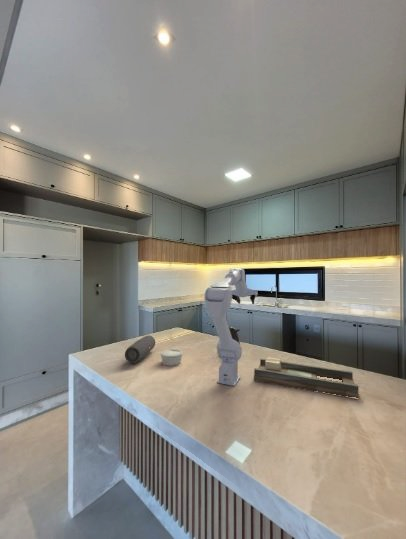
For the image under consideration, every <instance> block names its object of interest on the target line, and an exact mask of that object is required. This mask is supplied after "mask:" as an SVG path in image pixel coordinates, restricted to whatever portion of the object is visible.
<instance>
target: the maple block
mask: <svg viewBox="0 0 406 539" xmlns="http://www.w3.org/2000/svg"><path fill="white" fill-rule="evenodd" d="M265 359H266V361H265V370H270V371H276V372H280V371H281V361H282V360H281V358H275V357H268V356H267V358H265Z"/></svg>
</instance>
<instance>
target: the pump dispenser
mask: <svg viewBox="0 0 406 539" xmlns="http://www.w3.org/2000/svg"><path fill="white" fill-rule="evenodd" d="M228 327H229V330H230V333H231V336H232V339H234V340H235V341H237V342H238V343H239V345H240V346H241V340H240V336H239V333H238V332H240V329H236V328H235V327H234V326H228Z"/></svg>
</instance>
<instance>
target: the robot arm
mask: <svg viewBox="0 0 406 539" xmlns="http://www.w3.org/2000/svg"><path fill="white" fill-rule="evenodd" d="M245 274H246V273H245V269H243V268H242V267H239V268H237V267H236V268H233V267H232V268H230V269H229V271H228V273H227V274H226V275H225V276H224V279H222V280H220V281H219V282H215V283H213V284H211V285H210V286H209V287H207V288H206V289H205V291H204V298H203V299H204V303H205V305H206V308H207V310H208V311H209V312H210V316H211V319H212V321H213V324H214V328H215V331H216V334H217V337H218V338H219V339H218V341H217V343H216V352H217V353H216V354H217V356H218V358H219V360H221V361H220V366H219V367H218V379H217V381H216V383H218V384H223V385H227V386H232V387H235V386H236V385H237V383H238V382H239V381H240V379H241V376H240V375H239V374H238V373H239V371H238V369H239V365H238V364H239V363H238V361H239V360H240V359H241V358H242V354H243V351H242V350H243V348H242V346H241V344H240V345H239V343H238V342H237V341H235V340H234V339H232V336H231V333H230V330H229V327H230V326H229V324H228V321H227V318H226V314H227V313H229V312H230V309H231V305H232V300H234V301H236V303H238V304H239V305H240V304H241V298H245V297H249V300H250V301H251V304H252V305H254V304H255V299H256V296H258V294H259V293H258V290H255V289H252V288H251V289H250V288H248V285H247V282H246V275H245ZM232 286H234V288H235V289H233V290H232V288H231V287H232Z"/></svg>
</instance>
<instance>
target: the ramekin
mask: <svg viewBox="0 0 406 539" xmlns="http://www.w3.org/2000/svg"><path fill="white" fill-rule="evenodd" d="M183 353H184V352H183V351H182V350H179V349H166V350H163V351H161V352H160V356H161V361H162V364H163V365H165V366H168V367H169V366H170V367H171V366H177V365H180V363H181V362H182V357H183Z"/></svg>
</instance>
